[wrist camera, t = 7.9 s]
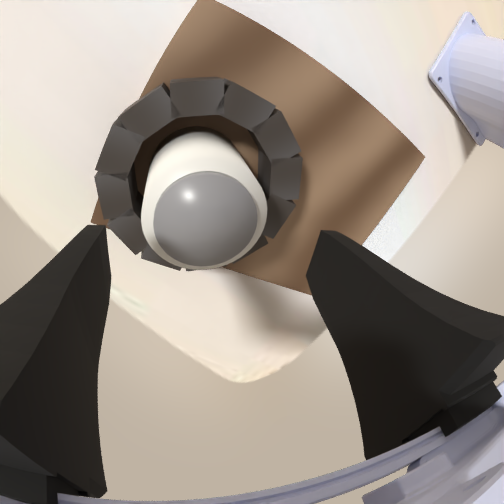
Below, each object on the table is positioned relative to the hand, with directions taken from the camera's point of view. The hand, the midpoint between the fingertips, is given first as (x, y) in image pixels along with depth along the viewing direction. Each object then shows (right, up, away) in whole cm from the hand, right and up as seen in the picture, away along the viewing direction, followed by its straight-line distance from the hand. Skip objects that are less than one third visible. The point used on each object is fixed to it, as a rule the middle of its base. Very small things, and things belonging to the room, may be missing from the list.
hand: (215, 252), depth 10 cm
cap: (-2, +4, +6) cm, 8 cm away
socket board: (+2, +5, +8) cm, 10 cm away
